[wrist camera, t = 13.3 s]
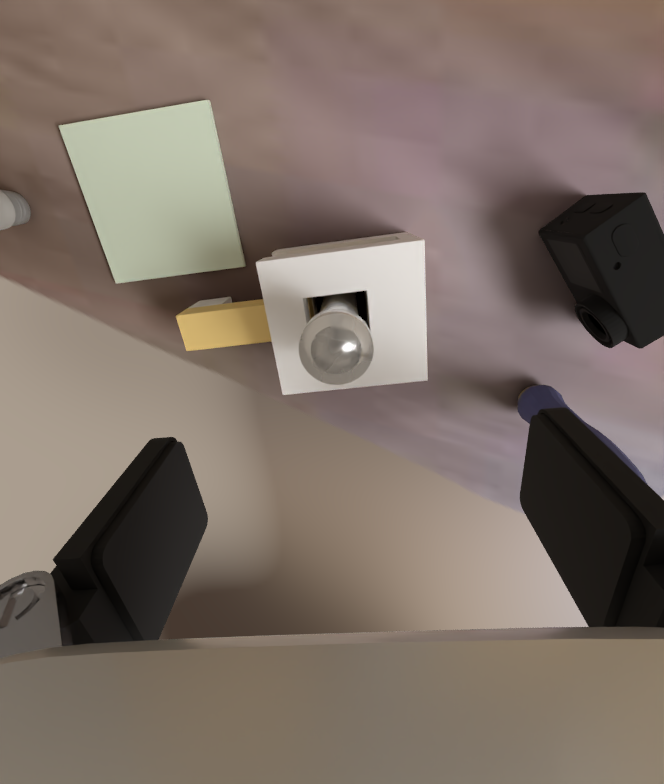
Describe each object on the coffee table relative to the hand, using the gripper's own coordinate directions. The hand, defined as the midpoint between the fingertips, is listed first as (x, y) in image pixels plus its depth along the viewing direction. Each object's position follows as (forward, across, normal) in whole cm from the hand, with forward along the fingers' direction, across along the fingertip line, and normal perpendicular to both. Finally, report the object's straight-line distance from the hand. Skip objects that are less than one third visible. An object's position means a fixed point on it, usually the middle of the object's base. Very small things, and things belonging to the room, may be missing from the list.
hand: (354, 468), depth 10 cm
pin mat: (+27, +15, -8) cm, 32 cm away
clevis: (+27, +4, +2) cm, 27 cm away
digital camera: (+27, -20, +1) cm, 34 cm away
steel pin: (+27, +1, +2) cm, 27 cm away
